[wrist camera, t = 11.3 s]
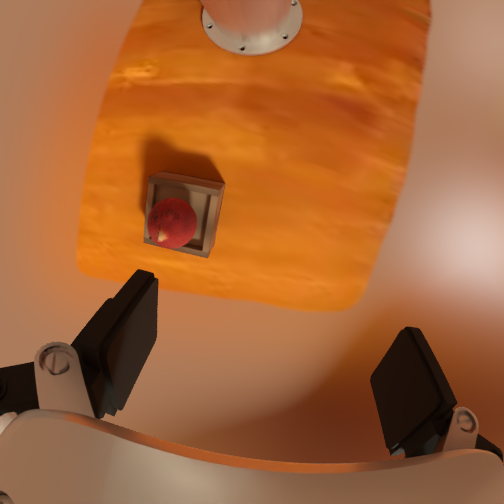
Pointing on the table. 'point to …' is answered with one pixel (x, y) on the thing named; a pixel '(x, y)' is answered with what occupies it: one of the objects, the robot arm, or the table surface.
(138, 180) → the table surface
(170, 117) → the table surface
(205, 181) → the base
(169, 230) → the onion
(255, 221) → the table surface
